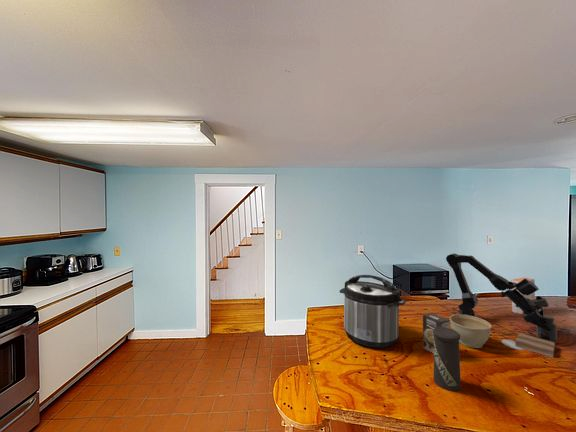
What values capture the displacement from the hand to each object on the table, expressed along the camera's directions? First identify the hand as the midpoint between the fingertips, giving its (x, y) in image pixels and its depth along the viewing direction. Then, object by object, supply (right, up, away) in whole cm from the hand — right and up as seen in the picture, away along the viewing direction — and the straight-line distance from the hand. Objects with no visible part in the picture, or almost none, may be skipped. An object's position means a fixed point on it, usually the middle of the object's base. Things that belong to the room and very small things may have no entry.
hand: (550, 328), depth 117 cm
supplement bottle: (-1, -7, +1) cm, 7 cm away
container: (-69, -8, -27) cm, 75 cm away
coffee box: (-60, -8, -6) cm, 61 cm away
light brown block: (-12, -7, -4) cm, 14 cm away
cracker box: (+22, -6, +36) cm, 42 cm away
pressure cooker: (-85, -8, +9) cm, 86 cm away
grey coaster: (-20, -7, -2) cm, 21 cm away
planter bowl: (-40, -7, 0) cm, 40 cm away
